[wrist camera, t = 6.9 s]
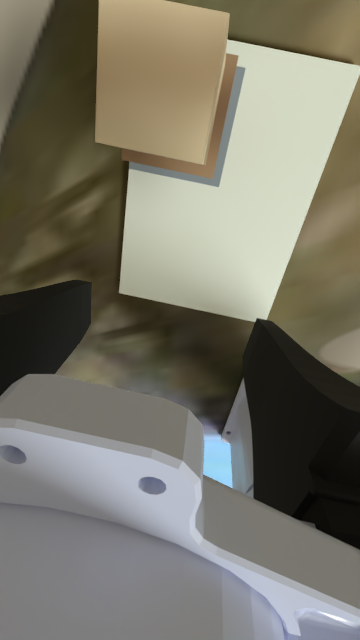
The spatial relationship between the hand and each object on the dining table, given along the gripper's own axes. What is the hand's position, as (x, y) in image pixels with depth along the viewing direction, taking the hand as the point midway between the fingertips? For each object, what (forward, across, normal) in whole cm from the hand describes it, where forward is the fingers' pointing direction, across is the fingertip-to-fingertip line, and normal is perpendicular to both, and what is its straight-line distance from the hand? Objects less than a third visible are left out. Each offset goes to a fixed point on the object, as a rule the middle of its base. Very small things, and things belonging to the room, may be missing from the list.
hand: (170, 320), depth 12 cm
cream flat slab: (+10, -1, -4) cm, 11 cm away
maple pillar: (+6, +2, -8) cm, 10 cm away
